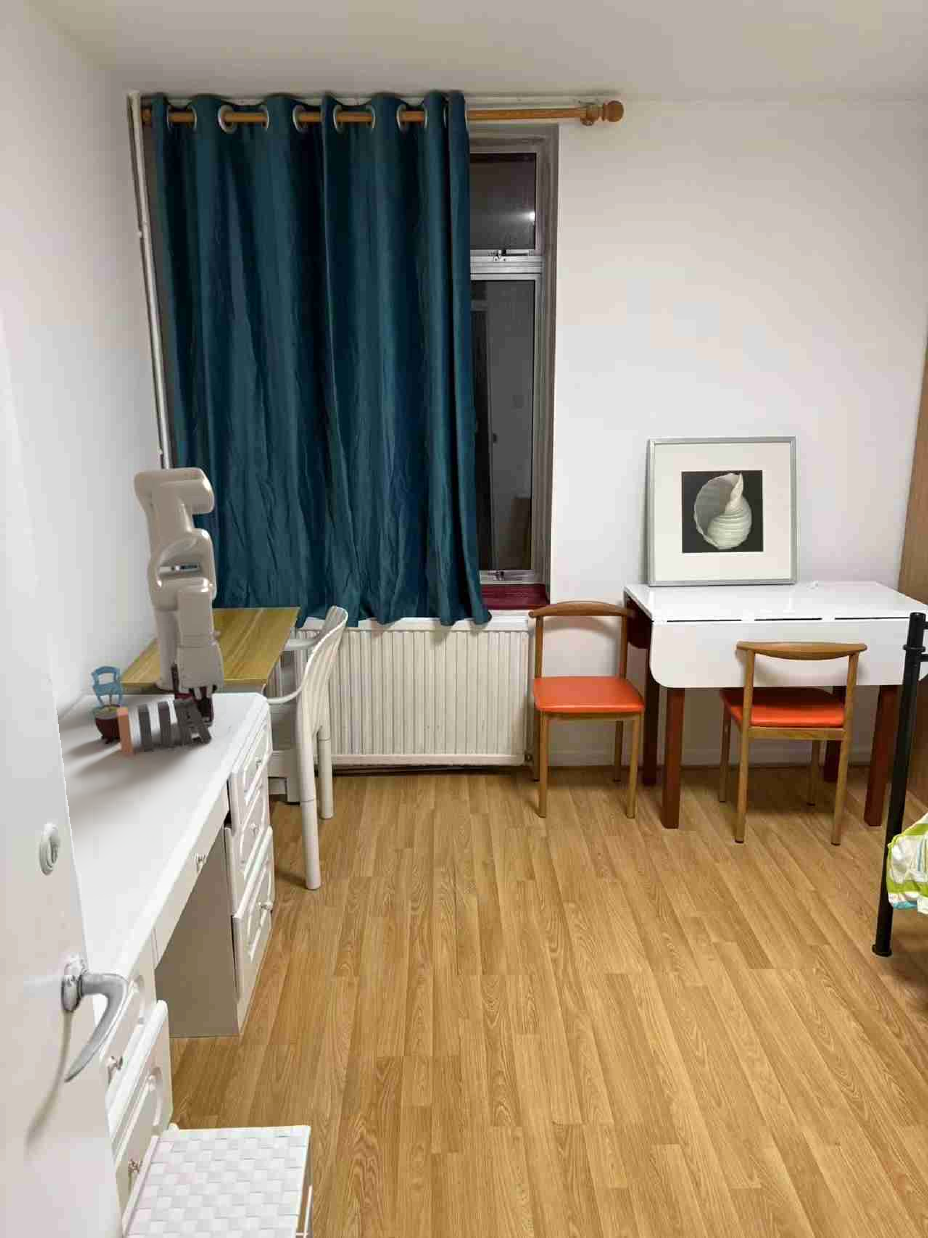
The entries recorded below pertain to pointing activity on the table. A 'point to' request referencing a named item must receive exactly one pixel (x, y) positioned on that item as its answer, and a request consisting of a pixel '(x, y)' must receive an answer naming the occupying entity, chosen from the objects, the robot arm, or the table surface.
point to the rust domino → (124, 731)
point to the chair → (107, 685)
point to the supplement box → (206, 717)
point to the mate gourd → (108, 721)
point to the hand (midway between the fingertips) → (204, 712)
